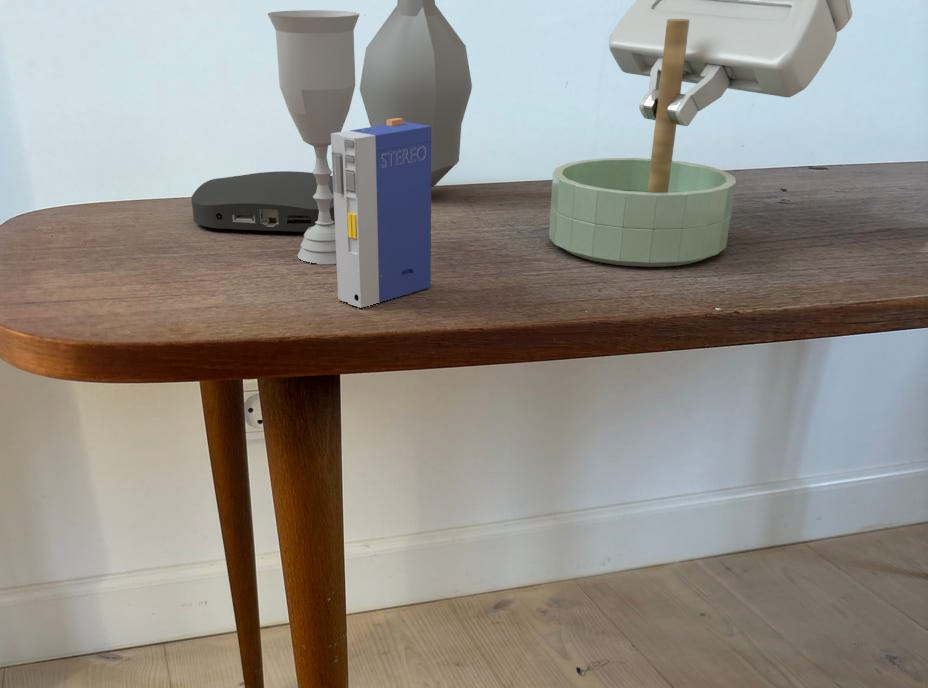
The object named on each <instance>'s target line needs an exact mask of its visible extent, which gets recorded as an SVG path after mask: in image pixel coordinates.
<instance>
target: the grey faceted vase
mask: <svg viewBox="0 0 928 688" xmlns="http://www.w3.org/2000/svg"><path fill="white" fill-rule="evenodd" d="M359 84H360V85H359V92H360V96H361V98H362V103H363V105H364V109H365V113H366V115H367V119H368V123H369V126H370V127H375V126H381V125H386V121H387V120H388V119H395V118H400V119H403V122H409V123H415V124H422V125H428V126H431V188H433V187H435V186H436V185H437V184H438V183H439V182H440V181H441V180H442V179H443V178H444V177H445V176H446V175H447V174H448V173H449V172H450V171H451V170H452V169H453V168H454V167H455V166H456V165H457V164H458V163H459V162H460V153H461V136H462V124H463V121H464V117H465V115H466V111H467V108H468V104H469V100H470V97H471V94H472V91H473V90H472V88H473V82H472V77H471V71H470V64H469V58H468V52H467V46H466V44H465V43H464V42H463V40H462V39H461V37H460V36H459V35H458V33H457V32H456V30H455V29H454V28H453V27H452V25H451V24H450V23H449V21H448V20H447V18H446V17H445V16H444V14H443V12H441V10H440V9H439V7H438V6H437V5H436V0H397V2H396V6H395V7H394V8H393V10H392V12H390V14H389V15H388V17H387V18H386V20H385V21H384V22H383V23H382V25H381V26H380V28H379V29H378V30H377V32H376V34H375V35H374V36H373V37H372V39H371V40H370V41H369V43H368V45H367V46H366V47H365V51H364V58H363V64H362V70H361V78H360V83H359Z"/></svg>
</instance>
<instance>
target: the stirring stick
mask: <svg viewBox="0 0 928 688" xmlns="http://www.w3.org/2000/svg"><path fill="white" fill-rule="evenodd" d="M688 29H689V20H687V19H667V25H666V34H665V42H664V51H663V60H662V68H661V77H660V85H659V94H658V103H657V111H656V120H654V129H653V138H652V147H651V155H650V159H651V163H650V172H649V181H648V189H647V192H652V193H668V188H669V180H670V172H671V164H672V161H673V156H674V145H675V140H676V133H677V124H673V123H672V122H671V119H670V118H669V117H668V115H667V109H668V107H669V105H670V104H671V103H673V99H674V98H675V97H676V96H677V94H682V92H681V91H682V85H683V84H682V83H683V82H682V77H683V69H684V61H685V53H686V45H687V37H688Z"/></svg>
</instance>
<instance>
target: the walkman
mask: <svg viewBox="0 0 928 688" xmlns="http://www.w3.org/2000/svg"><path fill="white" fill-rule="evenodd" d="M330 147H331V168H332V169H331V171H332V176H333V195H334V217H335V240H336V262H337V264H336V281H337V282H336V283H337V284H336V285H337V300H338V299H340V300H342V301H345V302H348V304H351V305H354V306H357V307H360V308H361V307H365V306H369V307H371V306H370V305H373V304H376V303H379V304H381V303H380V302H382V301H385V302H387V301H386V300H388V301H390V300H389V299H391V300H394V299H393V298H395V299H397V297H398V298H401V297H404V296H407V295H410V294H413V292H414V293H416V292H420V291H423V290H426V289H430V288H431V286H432V281H431V280H432V277H431V276H432V268H431V267H432V187H431V126H428V125H422V124H415V123H409V122H403V119H400V118H395V119H388V120H387V121H386V125H381V126H375V127H371V126H370V127H364V128H363V127H362V128H357V129H351V130H344V131H341V132H337V133H331V145H330ZM403 295H404V296H403ZM400 296H401V297H400ZM382 303H383V302H382ZM348 304H347V305H348ZM376 305H377V304H376ZM373 306H374V305H373Z"/></svg>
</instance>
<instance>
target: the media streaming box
mask: <svg viewBox="0 0 928 688" xmlns="http://www.w3.org/2000/svg"><path fill="white" fill-rule="evenodd" d="M317 185H318V184H317V181H316V177H315V176H314V174H313V173H312V172H307V171H284V170H283V171H264V172H256V173H255V172H254V173H249V174H242V175H234V176H226V177H218V178H213V179H209V180H207V181H205V182H203V183H202V184H201V185H199V186H198V187H197V188H196V190H195V191H194V192H193V194H192V195H191V197H190V200H191V207H192V216H193V222H194V223H195V224H196V225H199V226H202V227H206V228H211V229H221V230H239V231H240V230H242V231H260V232H261V231H262V232H263V231H265V232H289V233H290V232H295V233H296V232H297V233H305V232H306V231H307V229H308V228H309V227H312V226H315V225H316V224H317V223H315V222H316V221H318V216H319V209H318V205H317V201H316V200H315V199H314V198H313V196H314V194H315V193H316V191H317ZM328 186H329V189H330V192H331V193H332V194H333V175H330V177H329V182H328ZM329 212H330V216H331V220H332V221H334V223H333V224H334V225H335V217H334V197H333V199H332V200H331V203H330V209H329Z"/></svg>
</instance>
